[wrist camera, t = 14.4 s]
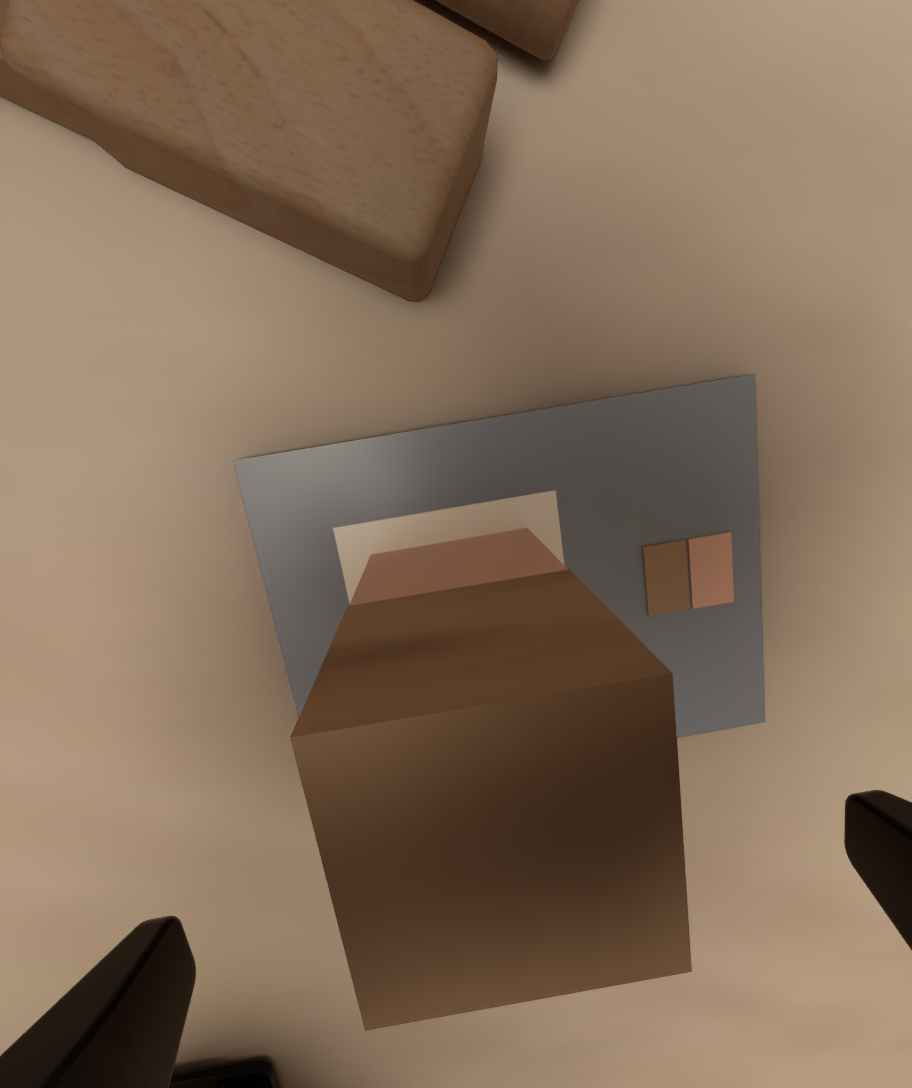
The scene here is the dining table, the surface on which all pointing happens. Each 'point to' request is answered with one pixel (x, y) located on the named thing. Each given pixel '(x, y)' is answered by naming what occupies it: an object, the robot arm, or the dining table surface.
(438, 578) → the terracotta block
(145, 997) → the robot arm
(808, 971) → the dining table surface
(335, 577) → the grey flat plate
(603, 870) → the walnut block
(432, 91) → the wooden block set
